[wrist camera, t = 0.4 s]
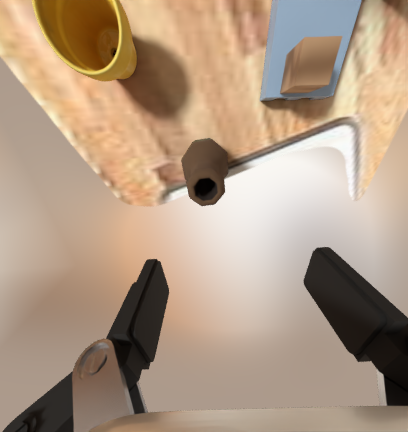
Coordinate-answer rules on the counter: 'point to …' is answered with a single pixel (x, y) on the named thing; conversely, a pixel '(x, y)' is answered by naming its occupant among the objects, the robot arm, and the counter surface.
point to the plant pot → (89, 36)
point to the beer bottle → (205, 171)
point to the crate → (310, 64)
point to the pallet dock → (298, 29)
